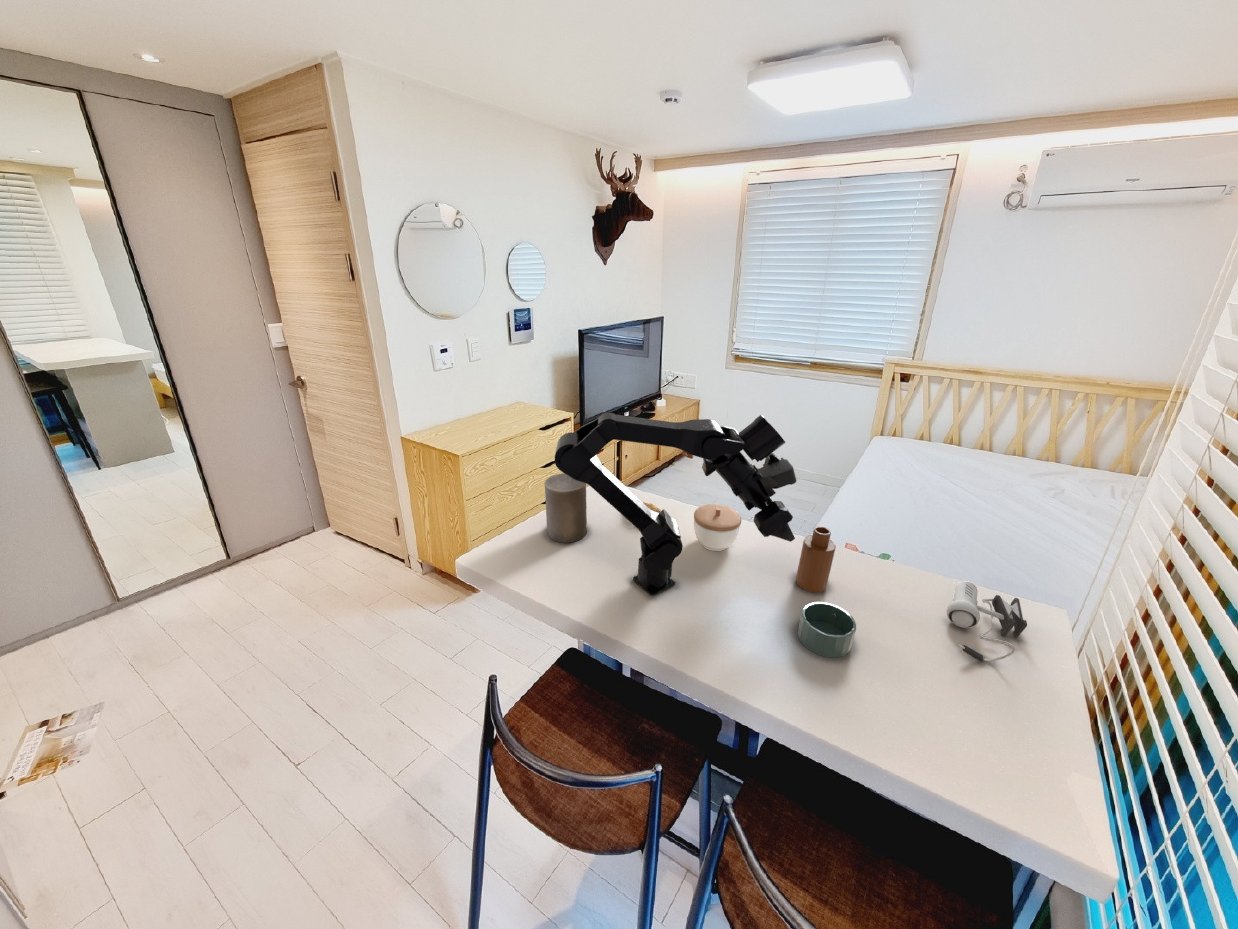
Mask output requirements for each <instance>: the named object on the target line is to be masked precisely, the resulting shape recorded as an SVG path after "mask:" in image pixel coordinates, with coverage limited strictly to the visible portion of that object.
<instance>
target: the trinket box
mask: <svg viewBox="0 0 1238 929" xmlns="http://www.w3.org/2000/svg"><path fill="white" fill-rule="evenodd" d="M741 524H742V516H741V514H740V513H739V512H738V511H737V510H736V509H734V508H732V507H730V506H726V505H722V504H715V503H713V504H705V505H701V506H699V507H698V508H696V509H695V510H694V513H693V531H694V535H695V537H696V539H697V541H698V542H699V543H700V545H701V546H702V547H703V548H705V549H706V550H708V551H711V552H723V551H725V550H726V549H727V548H729V547H731V546H732V545H733V544H734V543H735V542H736V540H737V538H738V536H739V534H740V529H741Z"/></svg>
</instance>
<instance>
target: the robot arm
mask: <svg viewBox="0 0 1238 929" xmlns="http://www.w3.org/2000/svg"><path fill="white" fill-rule="evenodd" d="M613 440H614V441H621V442H629V443H637V444H646V445H653V446H659V447H660V446H661V447H668V448H674V449H678V450H681V451H682V452H685V453H687V454H689V455H691V456H693V457H698V458H700V459H702V460H703V461H702V465H701V469H702V471H703V473H704V476H706V477H709V476H710V475H712V474H713V473H714V472H716V473H717V474H718V475H719V477H721V479H723V481H724V482H725V483H726V484H727V485H728V487H729V488H730V490H731V491H732V494H734V496H735V497H738V498H739V500H741V501H742V503H743V505H744V506H745V508H746V509H747V511H751V510H752V509H754V508H757V509H759V511H758V512H757V513H755V514H754V515H753V516H754V517H753V524H754V525H755V526H756V529H757V530H758V531H759V533H760V534H761V535H762V536H763V537H764V538H769V537H770V536H771V537H775V538H778V539H781V540H783V541H787V542H793V541H795V540H796V537H795V535H794V533H793V531H792V529H791V527H790V524H789V523H791V522H792V520H793V519H794V516H793V514H792V513H791V512H790V510H789V509H788V507H787V506H786V505H785V504H784V503H783V501H781V500H773V499H772V497H773V496H774V495H776V494H777V492H776V491H775V490H777V489H781V488H783V487H786V486H792V485H795V484H796V483H797V476H796V472H795V469H794V466H793V464H791V462H790V461H789V460H788V459H787V458H784V457H780V458H779V457H778V456H777V455H776V454H775V453H774V452H776V451H777V450H778V449H779V448H781V447H783V446H784V445H785V444H786V443H787V442H786V441H785V439H784V438H783V437H782V436H781V435H780V433H779V432H778V431H777V430H776V429H775V427H774V426H773V425H772V424H771V423H770V422H769V421H767V419H766V417H765V416H764V415H762V414H759V415H758V416H757V417H756V418H755V419H754V420H753V421H752V422H751V423H749V424H748V425H747V426H746V427H745V428H743V429H741V430H740V431H739V432H738V431H737V429H736V428H733V427H730V426H729V427H728V426H723V425H720V424H719V423H718V422H716V421H715V420H713V419H709V418H705V419H704V418H702V419H699V418H698V419H688V420H685V421H679V422H678V421H677V422H674V421H666V420H661V419H660V420H658V419H653V418H643V417H638V416H637V417H636V416H629V415H621V414H615V413H613V412H604V413H602V414H600V415H599V416H597V418H595V419H593V420H591V421H590V422H587V423H585V424H584V425H581V426H580V427H579V428H578V429H576V430H575V431H573V432H572V431H570V432H566V433H564V434H563V435H561V436H560V437H559V438H558V441H557V443H556V447H555V452H554V464H555V467H556V468H557V469H558V470H559V471H560V472H561V473H565V474H566V475H568V476H569V477H571V478H572V479H574V480H577V481H580V482H583V483H586V485H587V486H589V487H591V489H593V490H594V491H595V492H596V493H597V494H598V495H599V496H600V497H601V498H603V499H604V500H605V501H606V502H607V503H608V504H609V505H611V506H612V508H614V509H615V510H616V511H617V512H618V513H619V514H620V515H622V517H624V518H625V519H626V520H627V521H628V522H629V523H630V524H632V525H633V526H634V527H635V528H636V529H637V530H638V531H639V532H640V534H641V537H640V538H639V542H640V550H641V557H639V558H638V564H637V566H638V567H637V575H635V576H633V577H632V581H633V582H634V583H636V584H637V585H638V586H639V587H640V588H642V589H643V590H644V591H645V592H647V593H648V594H649V596H655V595H657V594H659V593H661V592H663V591H665V590H667V589H670V588H671V587H673V586H675V585H676V581H675V580H674V579H672V572H673V563H674V561H675V559H676V558H678V557H679V556H680V555H681V553H682V552H683V547H684V545H683V541H682V536H681V532H680V529H679V526H678V525H679V524H678V521H677V518H675V517H672V516H671V515H670V514H669V513H668V512H667V510H666V509H665V508H662V509H661V512H660V513H657V512H653V511H652V510H650V509H649V508H648V507H647V506H646V505H645V504H644V503H645V502H644V501H641V499H639V497H638V496H637V495H635V494H634V493H633V492H632V491H631V490H630V489H629V488H628V487H627V486H626V485H624V484H623V483H622V482H621V481H620V480H619V479H618V478H617V477H616V476H615V475H614V474H613V473H612V472H610V470H608V469H607V468H606V467H605V466H604V465H603V463H602V462H601V460H600V458H599V456H598V455H597V454H598V453H599V452H600V451H602V449H603V448H604V447H606V446H607V445H608V444H609V443H611V442H612V441H613ZM742 451H743V452H744V453H745V455H746V456H747V457H748V458H749V459H750V460H751V461H754V460H755V461H756V463H758V462H762V461H763V460H764V463H763V464H762V467H757V466H756V465H755V464H752V463H750V461H749V460H748V459H747V458H746V456H744V454H743V453H742ZM643 502H644V503H643Z"/></svg>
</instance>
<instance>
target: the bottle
mask: <svg viewBox="0 0 1238 929" xmlns="http://www.w3.org/2000/svg"><path fill="white" fill-rule="evenodd" d="M831 535H832V531H831V530H830V528H828V527H826V526H821V525H819V526H815V527H813V531H812V535H807V536H805V537H804V539H803V542H802V547H801V552H800V556H799V562H798V567H797V571H796V576H795V582H796V584H797V586H798V587H799V588H801V589H802V590H804V591H806V592H810V593H815V594H816V593H818V594H819V593H822V592H824V591H825V590H826V589H827V585H828V583H829V577H830V573H831V569H832V564H833V561H834V557H835V552H836V548H837V547H836V546H837V545H836V543H835V542H834V541H832V540H831Z"/></svg>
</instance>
